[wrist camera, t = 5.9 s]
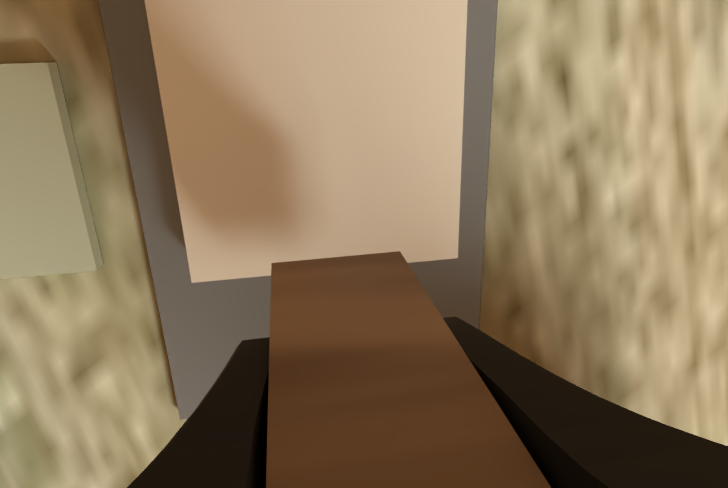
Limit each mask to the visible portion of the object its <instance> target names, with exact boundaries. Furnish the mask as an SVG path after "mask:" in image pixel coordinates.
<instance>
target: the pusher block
mask: <svg viewBox="0 0 728 488" xmlns="http://www.w3.org/2000/svg"><path fill="white" fill-rule="evenodd" d="M266 488H551V487H550V485H549V484H548V482H547V480H546V479H545V477H544V476H543V474H542V473H541V471H540V469H539V468H538V466H537V465H536V463H535V462H534V460H533V458H532V457H531V455H530V454H529V452H528V451H527V449H526V448H525V446H524V444H523V443H522V441H521V440H520V438H519V437H518V435H517V433H516V432H515V430H514V429H513V427H512V426H511V424H510V423H509V421H508V419H507V418H506V416H505V415H504V413H503V412H502V410H501V408H500V407H499V405H498V404H497V402H496V401H495V399H494V397H493V396H492V394H491V393H490V391H489V390H488V388H487V387H486V385H485V383H484V382H483V380H482V379H481V377H480V376H479V374H478V372H477V371H476V369H475V368H474V366H473V365H472V363H471V362H470V360H469V358H468V357H467V355H466V354H465V352H464V351H463V349H462V347H461V346H460V344H459V343H458V341H457V340H456V338H455V336H454V335H453V333H452V332H451V330H450V329H449V327H448V326H447V324H446V322H445V321H444V319H443V318H442V316H441V315H440V313H439V311H438V310H437V308H436V307H435V305H434V304H433V302H432V301H431V299H430V297H429V296H428V294H427V293H426V291H425V290H424V288H423V286H422V285H421V283H420V282H419V280H418V279H417V277H416V275H415V274H414V272H413V271H412V269H411V268H410V266H409V265H408V263H407V261H406V260H405V258H404V257H403V255H402V254H401V252H400V251H397V252H386V253H375V254H364V255H354V256H343V257H332V258H321V259H310V260H299V261H288V262H277V263H271V303H270V344H269V385H268V426H267V467H266Z"/></svg>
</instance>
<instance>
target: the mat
mask: <svg viewBox="0 0 728 488" xmlns="http://www.w3.org/2000/svg"><path fill="white" fill-rule="evenodd" d="M98 4H99V9H100V14H101V19H102V24H103V29H104V34H105V39H106V44H107V49H108V54H109V60H110V65H111V70H112V75H113V80H114V85H115V90H116V95H117V100H118V105H119V110H120V115H121V121H122V126H123V131H124V136H125V141H126V146H127V151H128V156H129V161H130V166H131V171H132V177H133V182H134V187H135V192H136V197H137V202H138V207H139V212H140V217H141V222H142V227H143V233H144V238H145V243H146V248H147V253H148V258H149V263H150V268H151V273H152V278H153V283H154V288H155V294H156V299H157V304H158V309H159V314H160V319H161V324H162V329H163V334H164V339H165V344H166V350H167V355H168V360H169V365H170V370H171V375H172V380H173V385H174V390H175V395H176V400H177V406H178V411H179V416H180V419H187V418H189V417H190V416H191V415H192V413H193V412H194V411H195V409H196V408H197V407H198V405H199V404H200V402H201V401H202V400H203V398H204V397H205V395H206V394H207V393H208V391H209V390H210V388H211V387H212V386H213V384H214V383H215V381H216V380H217V378H218V377H219V375H220V374H221V372H222V371H223V369H224V367H225V366H226V364H227V363H228V361H229V359H230V358H231V356H232V354H233V353H234V351H235V349H236V348H237V346H238V345H239V344H240V343H241V342H242V340H249V339H258V338H267V337H270V303H271V276H261V277H250V278H239V279H228V280H217V281H207V282H196V283H192V282H191V276H190V270H189V264H188V258H187V252H186V246H185V240H184V234H183V228H182V222H181V216H180V210H179V204H178V198H177V192H176V186H175V180H174V174H173V168H172V162H171V156H170V150H169V144H168V138H167V132H166V126H165V120H164V114H163V108H162V102H161V96H160V90H159V84H158V78H157V72H156V66H155V60H154V54H153V48H152V42H151V36H150V30H149V24H148V18H147V12H146V6H145V1H144V0H98ZM497 5H498V0H468V3H467V30H466V56H465V82H464V109H463V135H462V161H461V188H460V214H459V240H458V258H455V259H444V260H433V261H422V262H411V263H408V265H409V266H410V268H411V269H412V271H413V272H414V274H415V275H416V277H417V279H418V280H419V282H420V283H421V285H422V286H423V288H424V290H425V291H426V293H427V294H428V296H429V297H430V299H431V301H432V302H433V304H434V305H435V307H436V308H437V310H438V311H439V313H440V315H441V316H442V318H446V317H457V318H459V319H461V320H463V321H465V322H467V323H468V324H470V325H472V326H473V327H475V328H477V329H478V330H479V321H480V303H481V286H482V268H483V251H484V233H485V216H486V198H487V181H488V163H489V146H490V128H491V111H492V93H493V75H494V58H495V40H496V23H497Z"/></svg>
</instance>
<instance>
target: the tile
mask: <svg viewBox="0 0 728 488" xmlns="http://www.w3.org/2000/svg"><path fill="white" fill-rule="evenodd" d="M144 1H145V6H146V12H147V18H148V24H149V30H150V36H151V42H152V48H153V54H154V60H155V66H156V72H157V78H158V84H159V90H160V96H161V102H162V108H163V114H164V120H165V126H166V132H167V138H168V144H169V150H170V156H171V162H172V168H173V174H174V180H175V186H176V192H177V198H178V204H179V210H180V216H181V222H182V228H183V234H184V240H185V246H186V252H187V258H188V264H189V270H190V276H191V282H192V283H196V282H207V281H217V280H228V279H239V278H250V277H261V276H271V263H277V262H288V261H299V260H310V259H321V258H332V257H343V256H354V255H364V254H375V253H386V252H397V251H400V252H401V254H402V255H403V257H404V258H405V260H406V261H407V263H411V262H422V261H433V260H444V259H455V258H458V240H459V214H460V188H461V161H462V135H463V109H464V82H465V56H466V30H467V3H468V0H144Z"/></svg>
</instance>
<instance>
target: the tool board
mask: <svg viewBox="0 0 728 488" xmlns="http://www.w3.org/2000/svg"><path fill="white" fill-rule="evenodd" d="M102 264H103V261H102V257H101V252H100V248H99V244H98V239H97V235H96V231H95V227H94V222H93V218H92V214H91V209H90V205H89V201H88V196H87V192H86V188H85V183H84V179H83V175H82V170H81V166H80V162H79V158H78V153H77V149H76V145H75V140H74V136H73V132H72V127H71V123H70V119H69V114H68V110H67V106H66V102H65V97H64V93H63V89H62V84H61V80H60V76H59V71H58V67H57V63H56V62H46V63H15V64H0V279H10V278H22V277H33V276H45V275H56V274H68V273H79V272H90V271H97V270H98V269H99V268H100V267H101V265H102Z"/></svg>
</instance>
